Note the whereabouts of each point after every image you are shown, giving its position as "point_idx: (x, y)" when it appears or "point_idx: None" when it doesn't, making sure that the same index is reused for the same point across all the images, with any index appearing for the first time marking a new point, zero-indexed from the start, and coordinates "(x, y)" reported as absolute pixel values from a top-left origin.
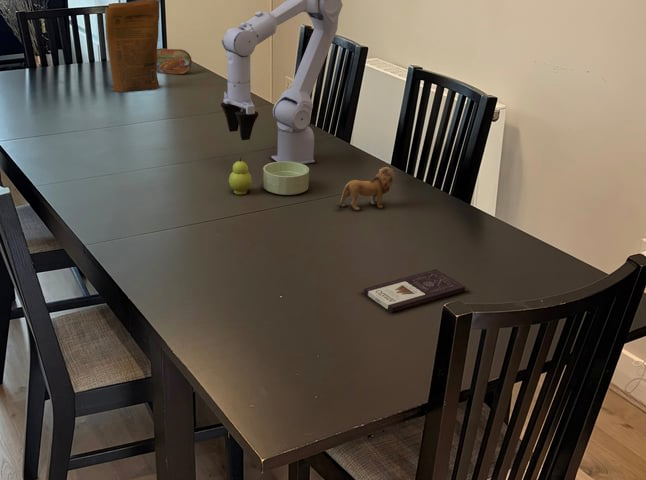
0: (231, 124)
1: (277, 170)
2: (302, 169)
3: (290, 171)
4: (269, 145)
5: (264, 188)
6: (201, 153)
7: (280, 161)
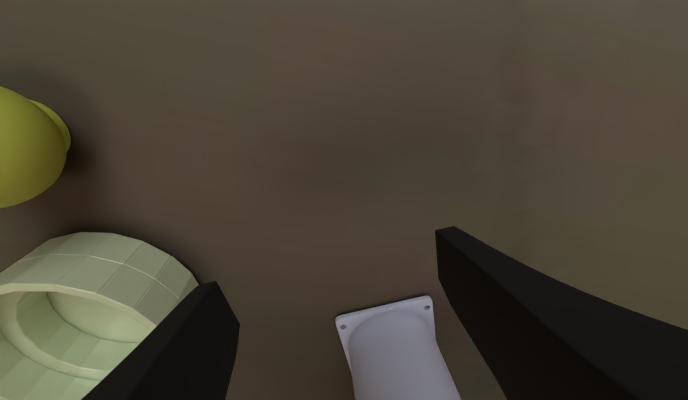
0: (467, 279)
1: None
2: None
3: None
4: None
5: (75, 233)
6: (601, 42)
7: None
